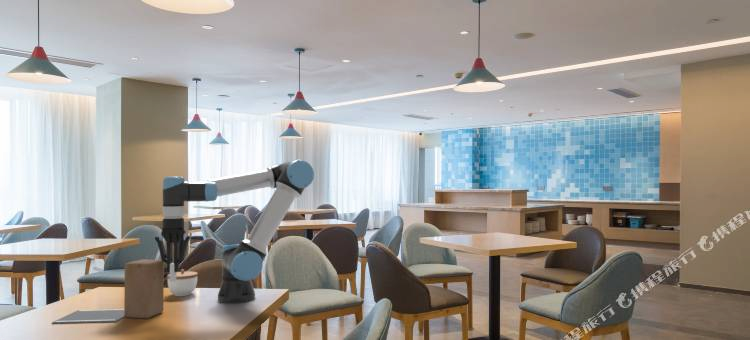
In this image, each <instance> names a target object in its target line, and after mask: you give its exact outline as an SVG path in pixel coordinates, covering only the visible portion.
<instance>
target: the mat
mask: <svg viewBox="0 0 750 340" xmlns="http://www.w3.org/2000/svg"><path fill="white" fill-rule="evenodd" d="M125 318H126V317H125V316H124V308H120V309H119V308H118V309H114V308H113V309H112V308H111V309H85V310H84V309H81V310H78V309H77V310H75V311H73V312H70V313H69V314H67V315H65V316H62V317H60V318H58V319H56V320H54V321H52V322H51V324H52V325H62V324H64V325H65V324H93V323H94V324H95V323H96V324H98V323H118V322H120V321H121V320H123V319H125Z"/></svg>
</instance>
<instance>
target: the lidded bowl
mask: <svg viewBox="0 0 750 340" xmlns="http://www.w3.org/2000/svg"><path fill="white" fill-rule="evenodd" d="M198 274H199V273H198V272H197V271H185V269H181V270H180V271H178V272H176V281H174V282H170V273H168V274H167V275H166V278H167V287H168V290H169V291H170V293H172V294H173V297H186V296H189V295H192V293H193V292H194V291H195V289H196V287H197V284H198V276H199V275H198Z"/></svg>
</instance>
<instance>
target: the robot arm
mask: <svg viewBox="0 0 750 340" xmlns="http://www.w3.org/2000/svg"><path fill="white" fill-rule="evenodd" d="M314 178H315V172H314V169H313V167H312V165H311V163H309V162H307V161H305V160H303V159H294V160H287V161H285V162H282V163H280V164H276V165H272V166H268V167H267V168H266V169H262V170H258V171H256V170H255V171H252V172H245V173H242V174H241V173H240V174H236V175H228V176H222V177H217V178H211V179H207V180H201V181H185V177H183V176H165V177H164V178H163V180H162V231H161V233H160V234H159V235H157V236H155V237H154V240H155V241H156V242H157V245H158V250H159V254H160V258H161V259H160V260H162V262H164V263H166V266H167V267H166V269H167V273H169V274H170V282H174V281H176V272H180V263H181V262H183V261H185V257H186V255H187V250H188V245H189V243H190V241H191V240H192V235H189V234H187V233H186V231H185V218H184V217H185V202H213V201H214V202H215V201H216V200H217V199H218V197H222V196H228V195H233V194H239V193H242V192H244V193H245V192H249V191H250V192H251V191H255V190H258V189H264V188H271V189H275V190H274V192H273V194H272V195H271V197H270V199H269V201H268V202H267V204H266V205H265V208H264V209H263V211H262V213H261V214H260V216H259V218H258V219H257V221H256V223H255V224H254V226H253V228H252V230H251V231H250V233H249V234H248V236H247V238H246V239H242V240H240V243H237V244H225V245H223V246H222V250H221V284H220V288H219V290H218V293H217V301H218V302H219V303H226V304H234V303H235V304H236V303H237V304H238V303H245V302H250V301H253V300H255V298H256V293H255V289H254V286H253V283H252V280H255V279H256V278H257V277H258V276H259V275H260V274H261V272H262V270H263V267H264V265H263V264H264V263H263V262H264V261H265V258H266V257H267V254H268V253H267V247H268V246H269V244H270V243H271V240H272V239H273V237H274V235H275V234H276V231H277V230H278V228H279V226H280V225H281V223H282V222H283V219H284V218H285V216H286V214H287V213H288V211H289V210H290V208H291V206H292V204H293V202H294V200H295V199H296V198H300V197H301V196H302V194H303V192H304V190H305V189H306V188H307V187H309V186H311V184H312V183H313V181H314ZM182 239H183V243H182V247H181V249H180V244H181V240H182ZM164 240H165V241H166V248H165V244H164ZM180 250H181V251H180Z"/></svg>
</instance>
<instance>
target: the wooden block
mask: <svg viewBox="0 0 750 340" xmlns="http://www.w3.org/2000/svg"><path fill="white" fill-rule="evenodd" d="M164 263H165V262H162V259H146V258H145V259H142V258H141V259H138V260H134V261H129V262H126V263H125V264H124V303H123V305H124V307H123V309H124V316H125V317H124V318H127V319H128V318H129V319H131V318H132V319H146V318H147V319H149V318H152V317H154V316H157V315H159V314H161V313H163V312H164V287H165V286H164V281H165V279H164V275H165V274H164V266H165V265H164Z"/></svg>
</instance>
